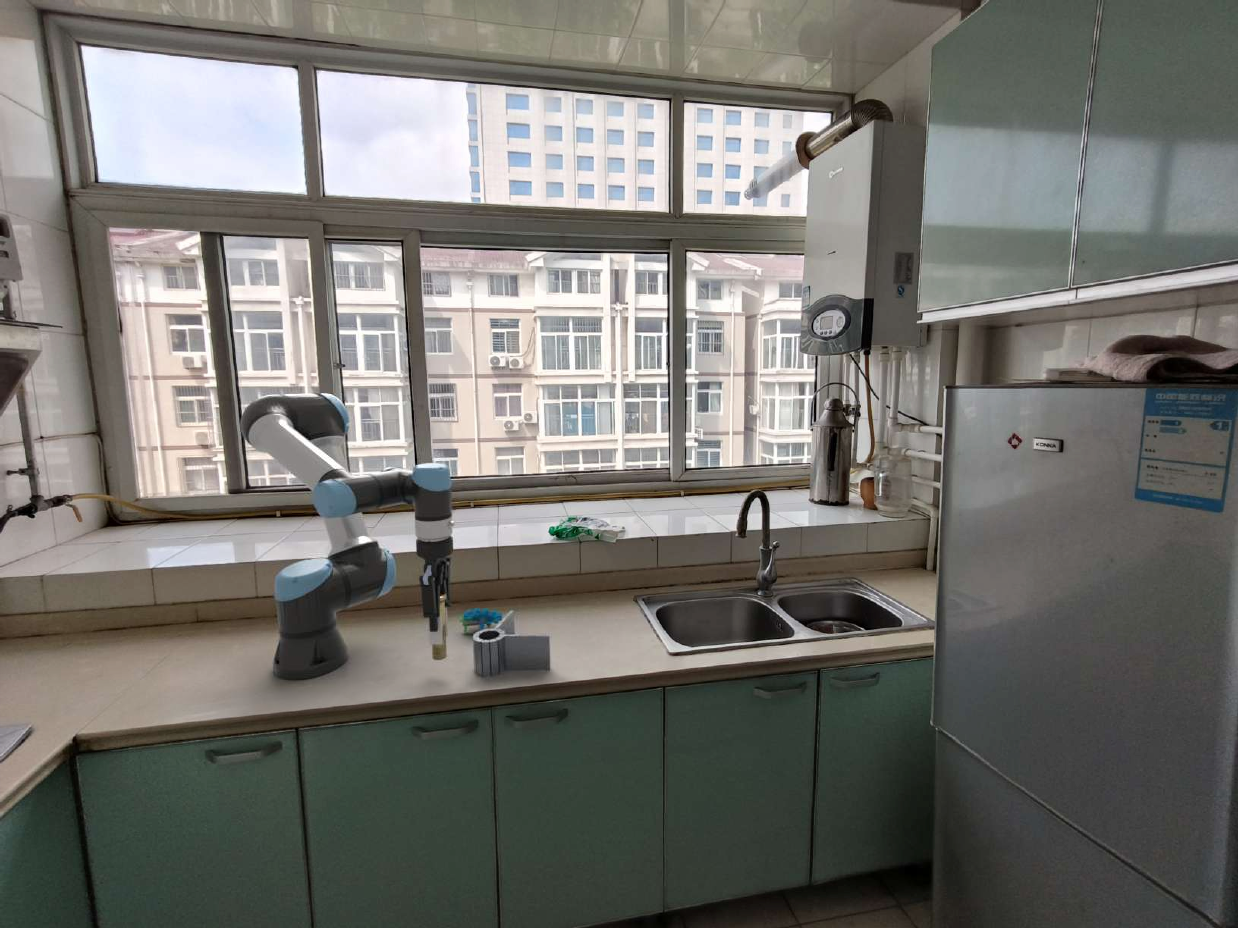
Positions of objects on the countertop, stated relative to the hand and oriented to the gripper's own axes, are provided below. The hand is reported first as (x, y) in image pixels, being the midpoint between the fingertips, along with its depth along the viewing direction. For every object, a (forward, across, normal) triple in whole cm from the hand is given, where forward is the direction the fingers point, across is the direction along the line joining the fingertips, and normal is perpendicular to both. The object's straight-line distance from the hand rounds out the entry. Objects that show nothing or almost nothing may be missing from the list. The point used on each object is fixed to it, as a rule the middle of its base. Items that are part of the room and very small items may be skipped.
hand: (438, 639), depth 126 cm
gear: (+9, +22, -4) cm, 24 cm away
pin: (+4, 0, 0) cm, 4 cm away
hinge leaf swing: (+8, +11, -12) cm, 18 cm away
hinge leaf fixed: (+8, +3, -16) cm, 18 cm away
